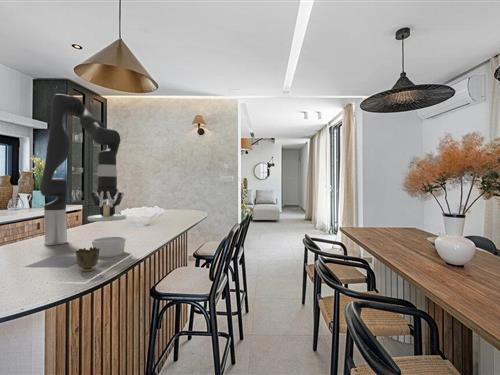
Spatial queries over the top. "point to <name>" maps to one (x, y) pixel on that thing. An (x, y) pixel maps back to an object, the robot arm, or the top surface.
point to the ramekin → (109, 246)
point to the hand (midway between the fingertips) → (107, 215)
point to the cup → (87, 258)
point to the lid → (106, 215)
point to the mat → (56, 262)
